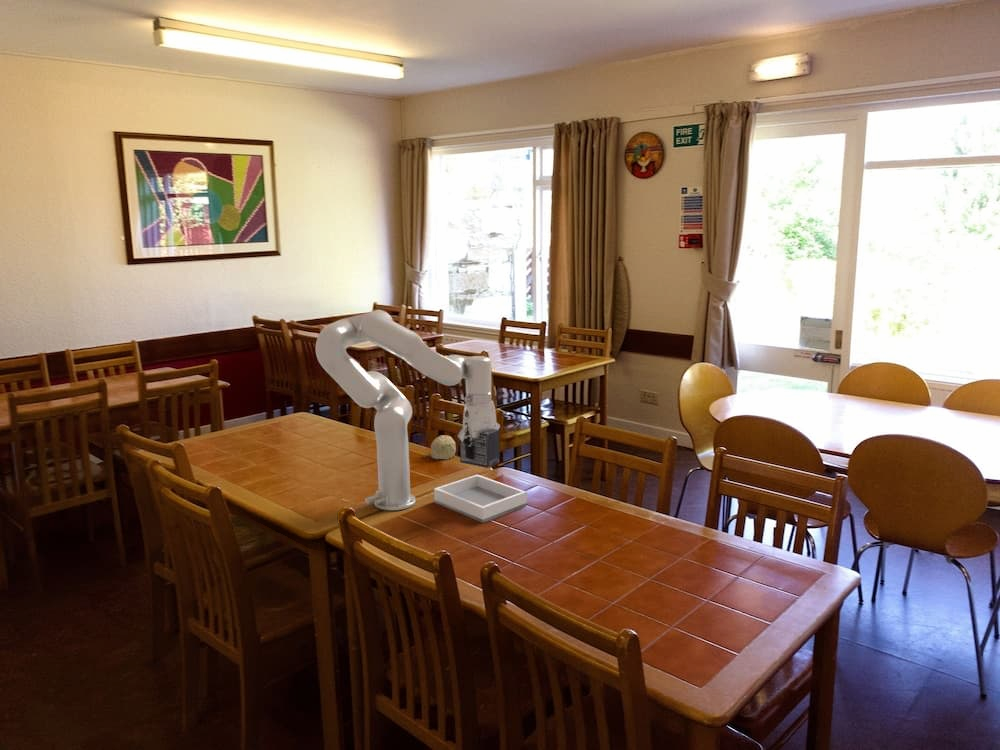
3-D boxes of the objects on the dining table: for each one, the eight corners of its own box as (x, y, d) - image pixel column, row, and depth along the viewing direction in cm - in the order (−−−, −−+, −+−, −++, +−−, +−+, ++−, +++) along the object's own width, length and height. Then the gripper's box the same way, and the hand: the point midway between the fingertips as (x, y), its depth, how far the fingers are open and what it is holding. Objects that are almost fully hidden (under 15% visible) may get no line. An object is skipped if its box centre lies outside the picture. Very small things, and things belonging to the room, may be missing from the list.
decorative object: (437, 470, 259) (450, 450, 255) (420, 451, 263) (433, 431, 259) (453, 465, 267) (466, 446, 263) (436, 447, 271) (448, 428, 267)
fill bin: (482, 522, 204) (482, 508, 203) (434, 502, 220) (433, 488, 219) (526, 505, 216) (526, 491, 215) (477, 487, 232) (477, 474, 231)
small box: (500, 462, 215) (500, 429, 213) (488, 468, 210) (487, 434, 208) (472, 456, 221) (471, 424, 219) (459, 462, 215) (458, 429, 213)
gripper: (465, 405, 203) (466, 465, 206) (508, 395, 214) (508, 451, 218) (448, 401, 208) (449, 459, 212) (491, 391, 220) (492, 446, 223)
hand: (479, 455), depth 215 cm, fingers closed on small box, 7 cm apart
